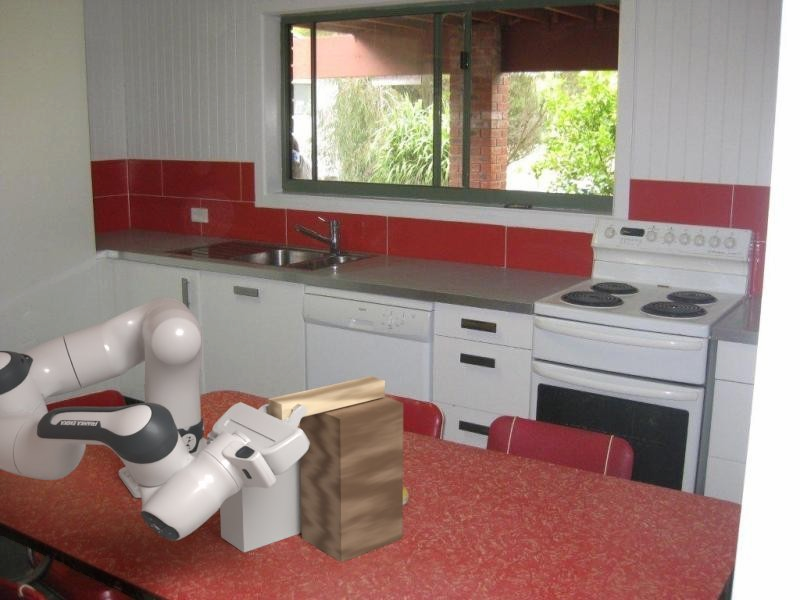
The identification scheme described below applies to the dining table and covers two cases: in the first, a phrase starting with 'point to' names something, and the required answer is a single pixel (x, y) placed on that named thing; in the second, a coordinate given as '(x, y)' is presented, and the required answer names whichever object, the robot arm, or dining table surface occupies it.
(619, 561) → the dining table surface
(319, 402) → the oak slat
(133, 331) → the robot arm
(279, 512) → the grey step
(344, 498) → the walnut block
